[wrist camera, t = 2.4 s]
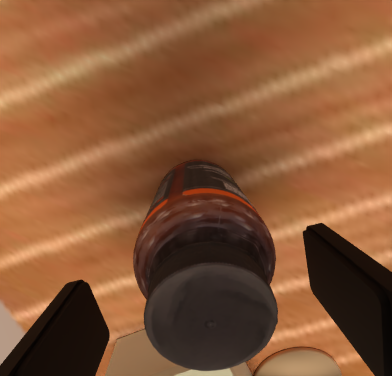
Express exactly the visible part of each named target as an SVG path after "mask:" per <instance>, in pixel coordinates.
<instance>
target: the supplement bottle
mask: <svg viewBox="0 0 392 376" xmlns="http://www.w3.org/2000/svg"><path fill="white" fill-rule="evenodd" d="M275 261H276V255H275V247H274V243H273V240H272V237H271V234H270V232H269V230H268V228H267V226H266V225H265V223H264V221H263V220H262V219H261V217H260V216H259V214H258V213H257V211H256V210H255V208H254V207H253V206H252V204H251V203H250V202H249V200H248V199H247V197H246V196H245V195H244V194H243V192H242V191H241V190H240V188H239V187H238V186H237V184H236V183H235V182H234V180H233V179H232V178H231V176H230V175H229V174H228V173H227V172H226V171H225V170H224V169H222V168H221V167H219V166H218V165H216V164H214V163H211V162H208V161H203V160H193V161H188V162H184V163H182V164H180V165H178V166H176V167H174V168H173V169H172V170H170V171H169V173H168V174H167V175H166V176H165V177H164V179H163V181H162V182H161V184H160V186H159V188H158V191H157V193H156V195H155V197H154V200H153V202H152V204H151V207H150V209H149V211H148V213H147V216H146V218H145V220H144V222H143V225H142V227H141V230H140V232H139V235H138V238H137V240H136V244H135V248H134V256H133V265H134V272H135V277H136V280H137V284H138V286H139V288H140V290H141V292H142V294H143V295H144V297H145V298H146V299H147V301H146V306H145V311H144V325H145V330H146V334H147V336H148V338H149V340H150V342H151V344H152V346H153V347H154V348H155V349H156V350H157V352H158V353H159V354H160V355H162V356H163V357H164V358H166V359H167V360H169V361H171V362H172V363H174V364H176V365H179V366H182V367H184V368H188V369H192V370H198V371H216V370H223V369H228V368H232V367H235V366H237V365H239V364H241V363H244V362H246V361H248V360H250V359H251V358H253V357H254V356H255V355H256V354H258V353H259V352H260V351H261V350H262V349H263V348H264V347H265V346H266V345H267V343H268V342H269V340H270V339H271V337H272V335H273V333H274V330H275V327H276V324H277V322H278V319H277V314H278V309H277V303H276V299H275V297H274V294H273V292H272V289H271V287H270V283H271V281H272V277H273V275H274V269H275Z"/></svg>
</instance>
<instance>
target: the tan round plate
mask: <svg viewBox="0 0 392 376" xmlns="http://www.w3.org/2000/svg"><path fill="white" fill-rule="evenodd" d="M253 376H342V374H341V371H340V369H339V367H338V365H337V364H336V362H335V360H334V359H333V358H332V357H331V356H330V355H328V354H327V353H325V352H323V351H321V350H318V349H314V348H308V347H297V348H290V349H286V350H283V351H280V352H277V353H275V354H273V355H271V356H270V357H268V358H267V359H265V360H264V361H263V362H262V363H261V364H260V365H259V366H258V368H257V369H256V371H255V373H254V375H253Z"/></svg>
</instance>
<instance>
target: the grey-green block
mask: <svg viewBox="0 0 392 376" xmlns="http://www.w3.org/2000/svg"><path fill="white" fill-rule="evenodd" d="M105 376H252V373H251V371H250V370H249V368H248V366H247V364H246V362H244V363H241V364H239V365H237V366H235V367H232V368H228V369H223V370H216V371H198V370H192V369H188V368H184V367H182V366H179V365H176V364H174V363H172V362H171V361H169V360H167V359H166V358H164V357H163V356H162V355H160V354H159V353H158V352H157V350H156V349H155V348H154V347H153V346H152V344H151V342H150V340H149V338H148V336H147V334H146V330H145V329H144V330H141V331H138V332H136V333H133V334H130V335H127V336H125V337H122V338H119V339H117V342H116V344H115V347H114V350H113V353H112V356H111V359H110V362H109V365H108V368H107V371H106V374H105Z"/></svg>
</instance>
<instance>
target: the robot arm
mask: <svg viewBox="0 0 392 376" xmlns="http://www.w3.org/2000/svg"><path fill="white" fill-rule="evenodd" d="M303 238H304V245H305V252H306V260H307V267H308V274H309V281H310V287H311V290H312V292H313V294H314V295H315V296H316V298H317V299H318V300H319V302H320V303H321V304H322V306H323V307H324V308H325V310H326V311H327V312H328V314H329V315H330V316H331V318H332V319H333V320H334V322H335V323H336V324H337V326H338V327H339V328H340V330H341V331H342V332H343V334H344V335H345V336H346V338H347V339H348V340H349V342H350V343H351V344H352V346H353V347H354V348H355V350H356V351H357V352H358V354H359V355H360V356H361V358H362V359H363V360H364V362H365V363H366V364H367V366H368V367H369V368H370V370H371V371H372V372H373V374H374V375H375V376H392V272H391V271H389V270H388V269H387V268H385V267H384V266H382V265H381V264H379V263H378V262H377V261H375V260H374V259H372V258H371V257H370V256H368V255H367V254H365V253H364V252H363V251H361V250H360V249H358V248H357V247H355V246H354V245H353V244H351V243H350V242H348V241H347V240H346V239H344V238H343V237H341V236H340V235H339V234H337V233H336V232H334V231H333V230H331V229H330V228H329V227H327V226H326V225H324V224H323V223H319V224H315V225H310V226H307V228H306V230H305V231H303ZM108 341H109V329H108V327H107V325H106V323H105V320H104V318H103V316H102V313H101V311H100V309H99V306H98V304H97V302H96V300H95V297H94V295H93V293H92V290H91V288H90V286H89V284H88V283H87V282H84V281H83V280H77V281H73V282H69V283H67V284H66V285H65V286H64V287H63V288H62V290H61V291H60V292H59V293H58V295H57V296H56V297H55V298H54V299H53V301H52V302H51V303H50V304H49V306H48V307H47V308H46V309H45V311H44V312H43V313H42V314H41V316H40V317H39V318H38V319H37V321H36V322H35V323H34V324H33V325H32V327H31V328H30V329H29V330H28V332H27V333H26V334H25V335H24V337H23V338H22V339H21V341H20V342H19V343H18V344H17V345H16V347H15V348H14V349H13V350H12V352H11V353H10V354H9V355H8V357H7V358H6V359H5V360H4V361H3V363H2V364H1V365H0V376H95V375H96V372H97V369H98V367H99V364H100V362H101V359H102V357H103V354H104V351H105V349H106V346H107V344H108Z"/></svg>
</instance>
